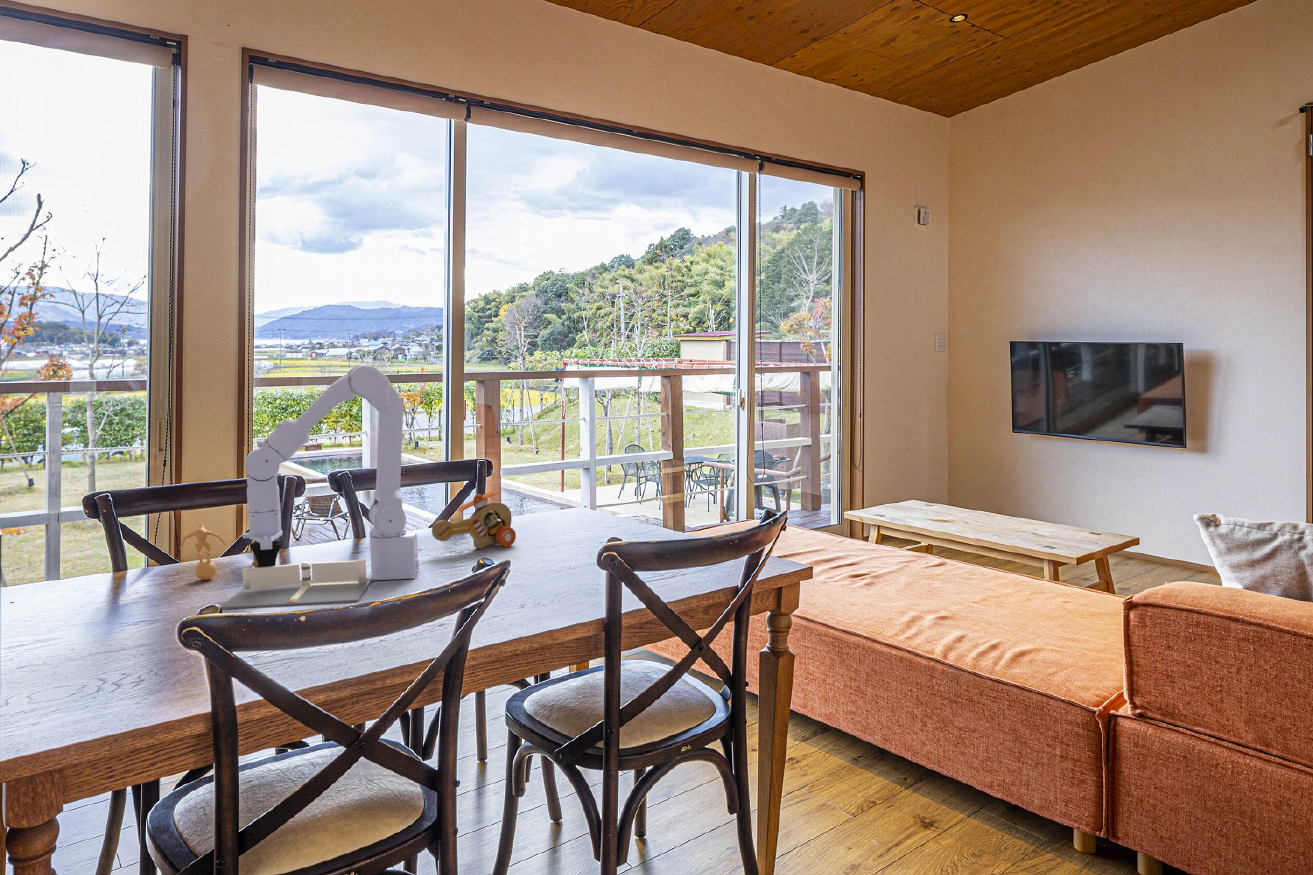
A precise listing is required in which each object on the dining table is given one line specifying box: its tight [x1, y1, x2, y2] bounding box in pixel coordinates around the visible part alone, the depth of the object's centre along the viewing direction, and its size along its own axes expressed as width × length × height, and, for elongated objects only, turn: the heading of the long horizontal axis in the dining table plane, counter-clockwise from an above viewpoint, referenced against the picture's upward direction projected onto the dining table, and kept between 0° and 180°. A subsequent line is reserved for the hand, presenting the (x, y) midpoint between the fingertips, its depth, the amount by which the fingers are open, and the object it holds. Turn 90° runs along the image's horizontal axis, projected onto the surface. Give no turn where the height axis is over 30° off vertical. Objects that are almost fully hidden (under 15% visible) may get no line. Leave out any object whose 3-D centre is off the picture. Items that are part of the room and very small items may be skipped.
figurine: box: [179, 524, 227, 581], centre depth 168 cm, size 8×6×12 cm
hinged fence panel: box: [241, 563, 301, 589], centre depth 161 cm, size 10×1×4 cm, turn 113°
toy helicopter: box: [431, 489, 517, 550], centre depth 194 cm, size 8×21×14 cm, turn 134°
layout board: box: [220, 576, 372, 610], centre depth 160 cm, size 24×16×1 cm, turn 99°
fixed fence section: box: [300, 559, 367, 586], centre depth 164 cm, size 12×2×5 cm, turn 99°
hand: (267, 577), depth 162 cm, fingers closed, pressing on hinged fence panel
